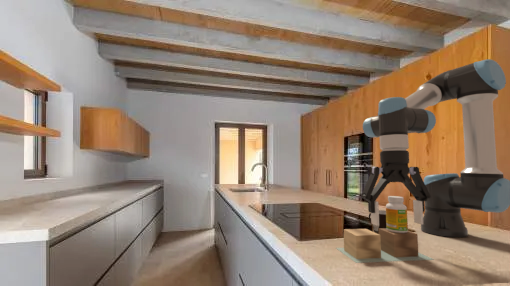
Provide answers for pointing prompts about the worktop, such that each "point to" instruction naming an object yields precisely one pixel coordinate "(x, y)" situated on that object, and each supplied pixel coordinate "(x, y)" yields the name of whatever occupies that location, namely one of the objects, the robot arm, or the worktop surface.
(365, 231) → the oak block
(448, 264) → the worktop surface
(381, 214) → the coffee mug
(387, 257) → the building board
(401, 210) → the supplement bottle
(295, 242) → the worktop surface
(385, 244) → the tower block
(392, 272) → the worktop surface
